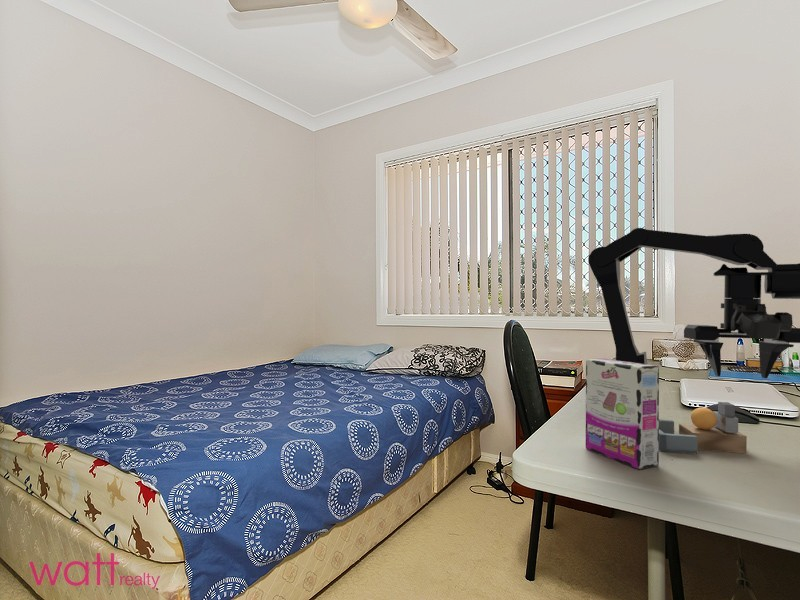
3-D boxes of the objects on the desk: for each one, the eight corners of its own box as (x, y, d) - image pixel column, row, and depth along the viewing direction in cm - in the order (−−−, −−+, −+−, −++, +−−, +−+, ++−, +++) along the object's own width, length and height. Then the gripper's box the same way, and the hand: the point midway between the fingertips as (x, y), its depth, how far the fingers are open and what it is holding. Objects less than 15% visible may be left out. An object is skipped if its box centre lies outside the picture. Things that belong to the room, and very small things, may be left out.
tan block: (692, 449, 78) (692, 432, 78) (678, 439, 84) (679, 423, 84) (746, 453, 76) (746, 436, 76) (728, 442, 82) (728, 426, 82)
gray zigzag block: (725, 432, 78) (725, 406, 78) (712, 424, 82) (712, 400, 82) (738, 433, 77) (738, 406, 77) (724, 425, 82) (724, 400, 82)
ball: (696, 431, 79) (696, 409, 79) (687, 425, 83) (687, 404, 83) (721, 433, 78) (721, 411, 78) (710, 426, 82) (710, 405, 82)
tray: (660, 451, 77) (660, 434, 77) (639, 432, 88) (639, 418, 88) (697, 454, 76) (697, 436, 76) (672, 435, 87) (672, 420, 87)
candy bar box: (660, 466, 70) (661, 365, 70) (639, 471, 68) (640, 367, 68) (603, 444, 81) (604, 357, 81) (583, 448, 79) (584, 358, 79)
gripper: (710, 297, 80) (709, 382, 80) (829, 299, 76) (827, 387, 76) (683, 298, 90) (682, 372, 91) (785, 299, 87) (784, 376, 87)
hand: (740, 377), depth 86 cm, fingers open, 8 cm apart
